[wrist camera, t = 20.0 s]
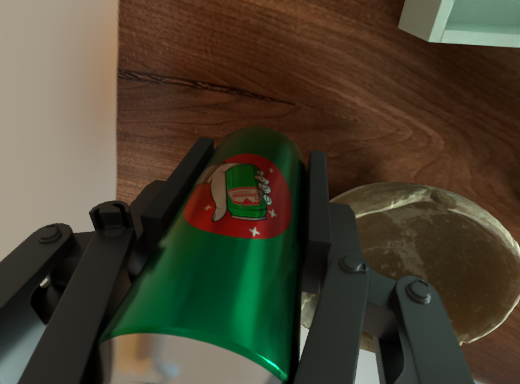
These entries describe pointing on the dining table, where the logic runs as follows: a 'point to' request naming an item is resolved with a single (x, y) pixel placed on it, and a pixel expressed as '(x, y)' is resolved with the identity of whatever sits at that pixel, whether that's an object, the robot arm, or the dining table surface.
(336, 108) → the dining table surface
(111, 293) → the robot arm
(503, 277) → the bowl
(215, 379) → the soda can
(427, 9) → the chest
